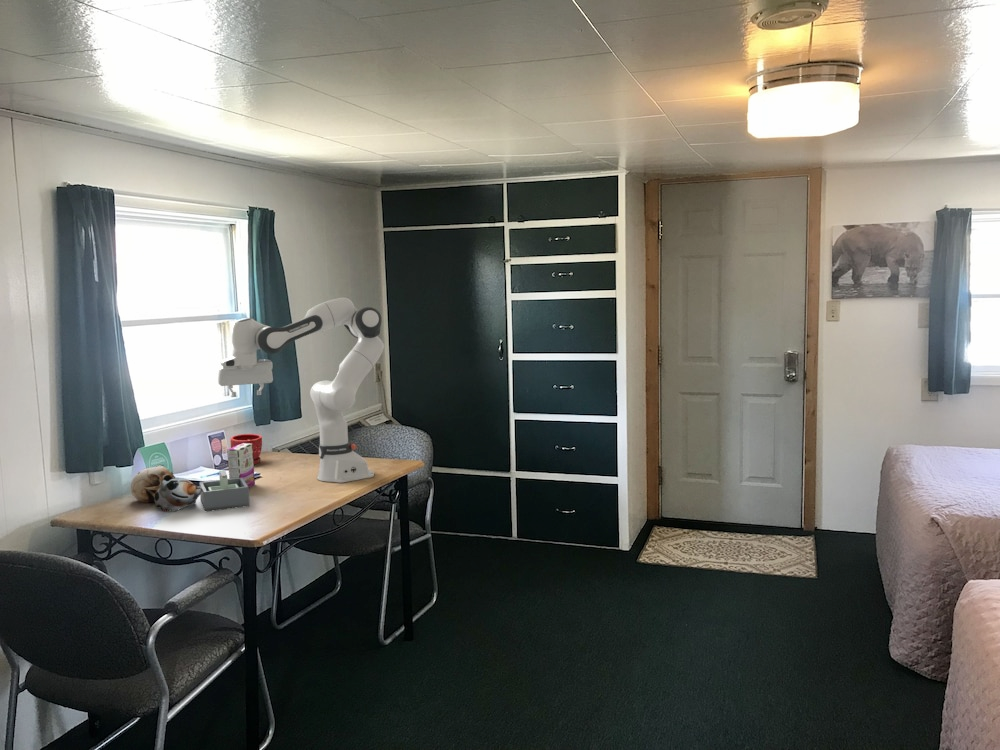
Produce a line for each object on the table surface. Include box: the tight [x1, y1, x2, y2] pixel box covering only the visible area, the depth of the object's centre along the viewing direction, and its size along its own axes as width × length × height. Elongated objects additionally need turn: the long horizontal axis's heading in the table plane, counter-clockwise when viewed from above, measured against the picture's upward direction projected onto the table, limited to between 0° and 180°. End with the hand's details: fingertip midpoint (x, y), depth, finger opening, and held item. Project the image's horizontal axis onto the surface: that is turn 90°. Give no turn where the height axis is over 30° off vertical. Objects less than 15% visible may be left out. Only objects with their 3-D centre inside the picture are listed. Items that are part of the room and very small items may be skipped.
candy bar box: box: [227, 443, 256, 488], centre depth 318 cm, size 11×5×16 cm, turn 168°
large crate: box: [199, 478, 250, 512], centre depth 297 cm, size 15×15×7 cm
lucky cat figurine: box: [154, 477, 202, 512], centre depth 292 cm, size 15×12×14 cm
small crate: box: [208, 469, 238, 491], centre depth 296 cm, size 10×10×10 cm
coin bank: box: [130, 466, 176, 504], centre depth 302 cm, size 16×17×13 cm
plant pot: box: [230, 433, 263, 465], centre depth 358 cm, size 13×13×12 cm
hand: (246, 395), depth 320 cm, fingers open, 8 cm apart
